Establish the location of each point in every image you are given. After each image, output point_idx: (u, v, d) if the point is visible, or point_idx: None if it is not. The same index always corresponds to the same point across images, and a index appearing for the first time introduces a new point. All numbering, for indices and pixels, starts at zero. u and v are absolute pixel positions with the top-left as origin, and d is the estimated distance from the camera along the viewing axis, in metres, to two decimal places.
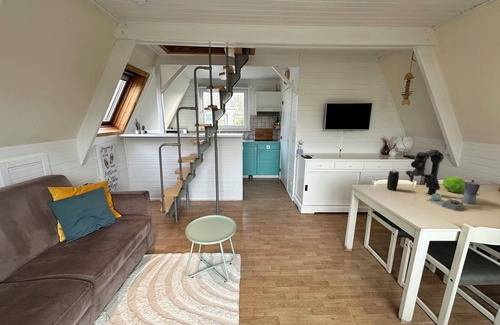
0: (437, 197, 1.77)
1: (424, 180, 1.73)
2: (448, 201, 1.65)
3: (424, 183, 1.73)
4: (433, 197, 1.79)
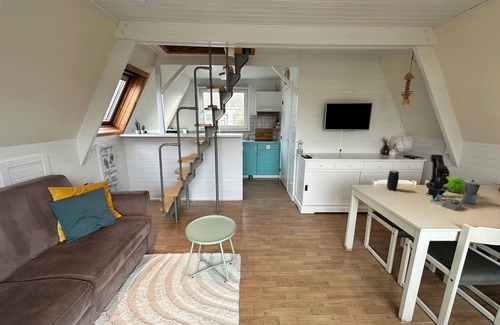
0: (437, 197, 1.77)
1: None
2: (448, 201, 1.65)
3: (432, 196, 1.78)
4: None
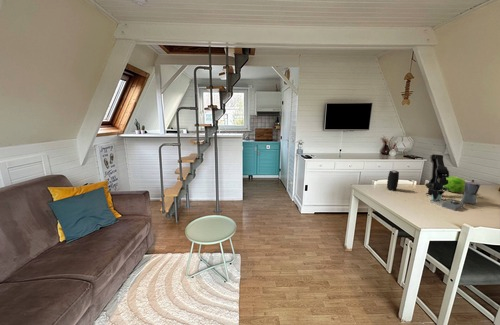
0: (437, 197, 1.77)
1: (433, 193, 1.79)
2: (448, 201, 1.65)
3: (433, 196, 1.79)
4: None
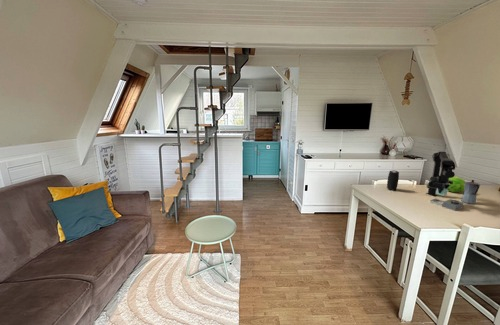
0: (442, 191, 1.68)
1: (438, 187, 1.70)
2: (448, 201, 1.65)
3: (438, 190, 1.70)
4: None
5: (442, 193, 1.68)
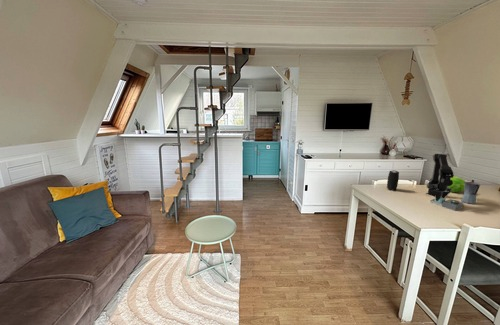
0: (440, 200, 1.69)
1: None
2: (448, 201, 1.65)
3: None
4: None
5: None
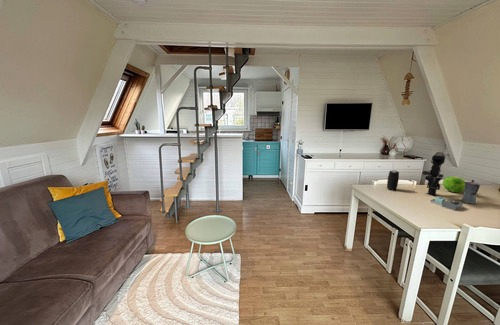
0: (440, 200, 1.69)
1: None
2: (448, 201, 1.65)
3: (428, 184, 1.80)
4: (436, 200, 1.72)
5: (440, 202, 1.70)
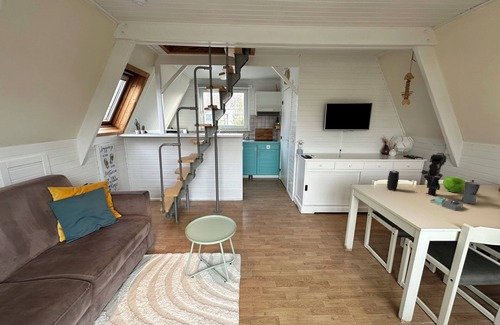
0: (440, 200, 1.69)
1: None
2: (448, 201, 1.65)
3: (427, 183, 1.82)
4: (436, 200, 1.72)
5: (440, 202, 1.70)
